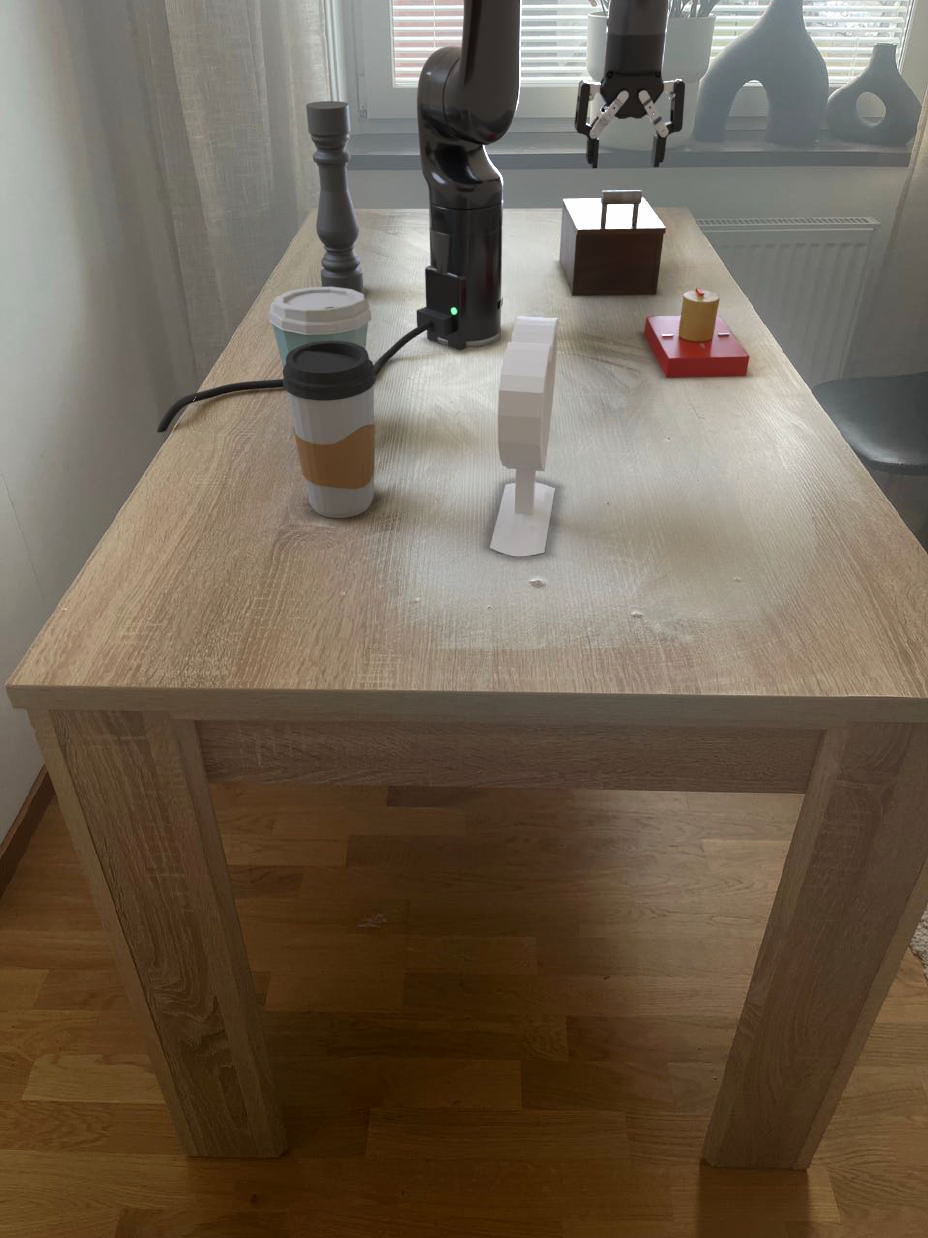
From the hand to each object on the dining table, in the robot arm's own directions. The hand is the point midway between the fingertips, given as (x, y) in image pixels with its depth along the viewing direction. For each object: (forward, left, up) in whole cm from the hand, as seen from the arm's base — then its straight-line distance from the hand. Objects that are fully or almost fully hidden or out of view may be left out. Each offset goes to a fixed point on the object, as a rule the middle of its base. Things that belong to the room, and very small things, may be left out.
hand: (624, 166), depth 127 cm
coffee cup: (-68, -16, -17) cm, 72 cm away
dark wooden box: (+4, +4, -17) cm, 18 cm away
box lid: (+4, +4, -8) cm, 10 cm away
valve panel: (-13, -22, -17) cm, 30 cm away
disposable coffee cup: (-58, -3, -17) cm, 60 cm away
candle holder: (-28, +29, -17) cm, 44 cm away
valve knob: (-13, -22, -15) cm, 29 cm away
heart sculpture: (-58, -31, -17) cm, 68 cm away
